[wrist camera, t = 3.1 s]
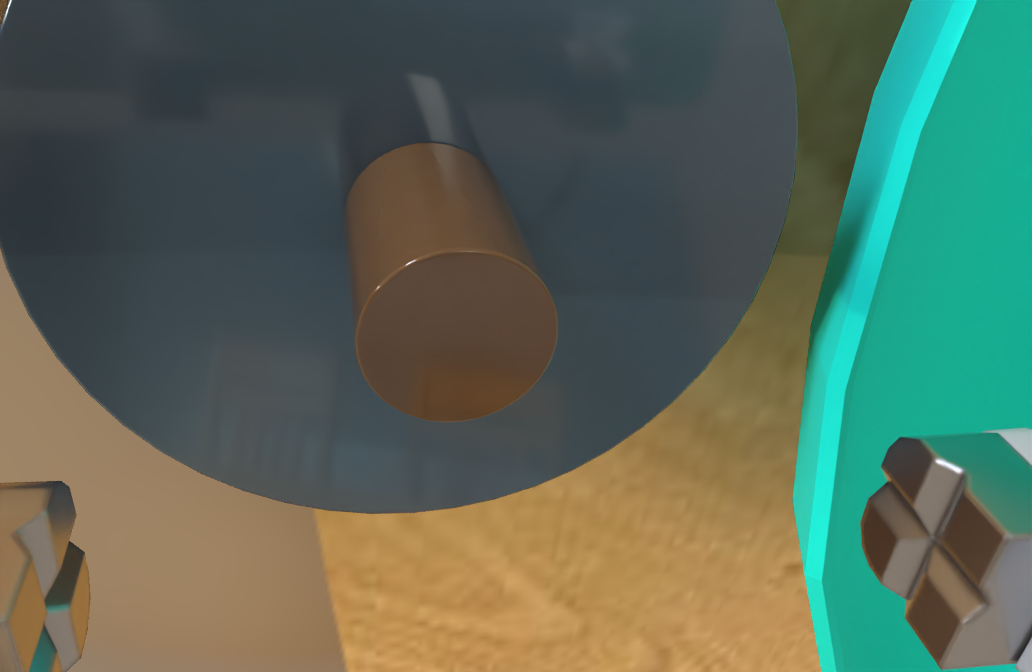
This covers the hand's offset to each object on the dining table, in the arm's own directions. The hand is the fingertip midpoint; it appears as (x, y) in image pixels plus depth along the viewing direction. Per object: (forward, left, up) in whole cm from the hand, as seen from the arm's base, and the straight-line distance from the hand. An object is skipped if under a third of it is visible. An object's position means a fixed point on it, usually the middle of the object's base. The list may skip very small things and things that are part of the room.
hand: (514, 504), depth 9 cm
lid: (0, 0, -7) cm, 7 cm away
